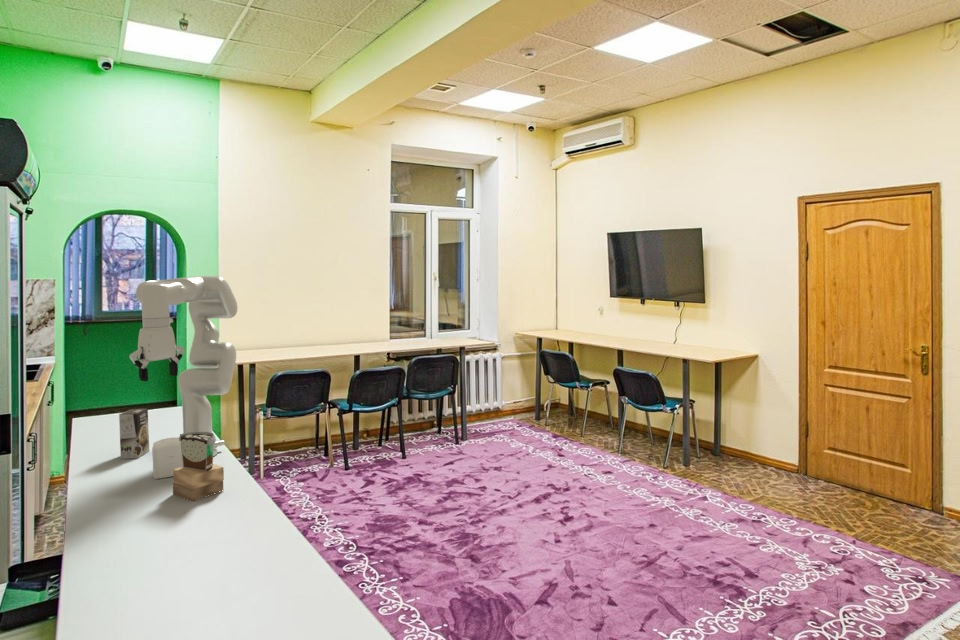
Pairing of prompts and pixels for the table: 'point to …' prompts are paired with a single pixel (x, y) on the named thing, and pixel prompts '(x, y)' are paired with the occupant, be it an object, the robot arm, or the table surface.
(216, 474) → the oak slab
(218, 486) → the tan cardboard flat block
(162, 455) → the photo printer
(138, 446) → the coffee box
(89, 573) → the table surface
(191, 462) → the food container
